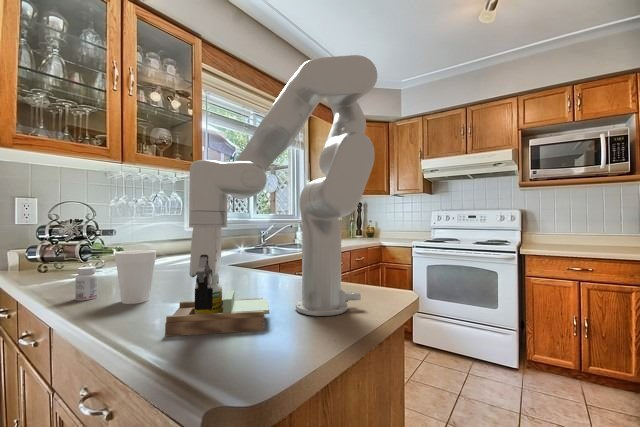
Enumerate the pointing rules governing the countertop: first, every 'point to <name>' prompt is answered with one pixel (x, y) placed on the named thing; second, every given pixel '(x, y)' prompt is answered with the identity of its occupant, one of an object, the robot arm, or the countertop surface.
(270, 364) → the countertop surface
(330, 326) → the countertop surface
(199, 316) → the wooden tray
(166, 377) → the countertop surface
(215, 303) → the supplement bottle
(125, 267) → the foam cup
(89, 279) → the pill bottle
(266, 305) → the cover
